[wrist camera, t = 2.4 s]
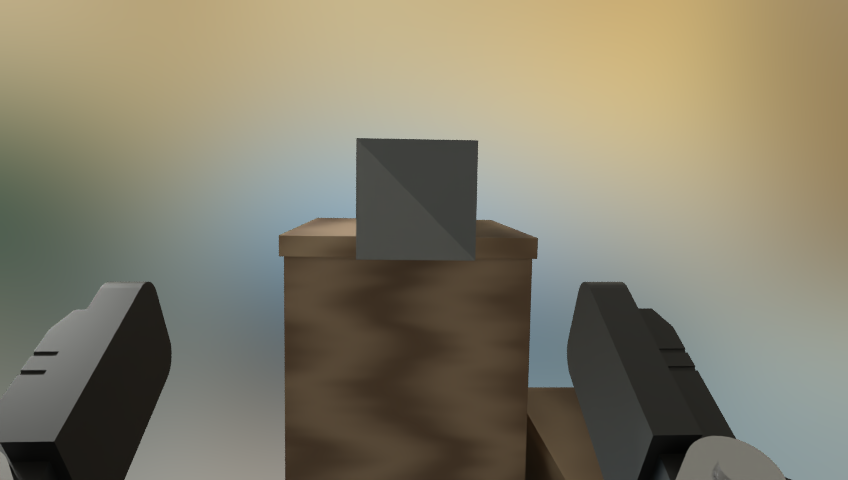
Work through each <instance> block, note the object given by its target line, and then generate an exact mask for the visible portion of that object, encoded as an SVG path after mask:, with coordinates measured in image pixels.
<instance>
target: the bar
mask: <svg viewBox="0 0 848 480" xmlns="http://www.w3.org/2000/svg"><path fill="white" fill-rule="evenodd" d="M356 155H357V157H356V260H462V261H475V250H476V207H477V164H478V163H477V162H478V141H473V140H472V141H471V140H420V139H368V138H357V152H356Z"/></svg>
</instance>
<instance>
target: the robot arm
mask: <svg viewBox="0 0 848 480" xmlns="http://www.w3.org/2000/svg"><path fill="white" fill-rule="evenodd" d="M567 359H568V368H569V373H570V376H571V379H572V382H573V386H574V389H575V392H576V395H577V398H578V401H579V404H580V407H581V410H582V413H583V417H584V420H585V423H586V426H587V429H588V432H589V435H590V438H591V441H592V444H593V448H594V451H595V454H596V457H597V460H598V463H599V466H600V469H601V472H602V475H603V479H604V480H791V479H788V478H785V477H784V475H783V474H782V472H781V471H780V469H779V468H778V467H777V465H776V464H775V463H774V462H773V461H772V460H771V459H770V458H769V457H767V456H766V455H765V454H764V453H762V452H761V451H759V450H758V449H756V448H755V447H753V446H751V445H749V444H747V443H745V442H742V441H740V440H737V439H736V438H735V436H734V435H733V433H732V431H731V429H730V428H729V426H728V424H727V422H726V420H725V418H724V417H723V415H722V413H721V411H720V410H719V408H718V406H717V404H716V402H715V401H714V399H713V397H712V395H711V394H710V392H709V390H708V388H707V386H706V385H705V383H704V381H703V379H702V378H701V376H700V374H699V372H698V371H695V365H694V363H693V362H692V360H691V358H690V356H689V355H688V353H685V347H684V346H683V344H682V342H681V340H680V339H679V337H678V335H677V333H676V331H675V330H674V328H673V327H672V326H671V325H670V324H669V323H668V322H667V321H666V320H664V319H663V318H662V317H661V316H660V315H659V314H657V313H656V312H655V311H654V310H653V309H638V307H637V305H636V303H635V302H634V299H633V298H632V295H631V293H630V292H629V290H628V288H627V286H626V285H625V284H624V283H623V282H583V283H582V284H581V286H580V288H579V292H578V297H577V301H576V306H575V311H574V315H573V321H572V325H571V329H570V334H569V339H568V345H567ZM170 366H171V343H170V339H169V336H168V332H167V328H166V325H165V321H164V317H163V314H162V310H161V306H160V303H159V299H158V296H157V292H156V289H155V287H154V285H153V284H152V283H151V282H106V283H104V284H103V286H102V287H101V288H100V289H99V291H98V293H97V294H96V296H95V297H94V299H93V300H92V302H91V303H90V305H89V306H88V308H87V309H86V310H74V311H73V312H71V313H70V314H69V315H67V316H66V317H65V318H63V319H62V320H61V321H59V322H58V323H57V324H55V325H54V326H53V327H52V328H50V329H49V331H48V332H47V333H46V335H45V336H44V338H43V339H42V340H41V342H40V343H39V345H38V346H37V348H36V349H35V350H34V356H30V358H29V359H28V360H27V362H26V363H25V365H24V366H23V367H22V369H21V374H20V375H17V376H16V377H15V379H14V380H13V382H12V383H11V385H10V386H9V388H8V389H7V390H6V392H5V393H4V395H3V396H2V398H1V399H0V480H124V479H125V477H126V474H127V472H128V470H129V467H130V465H131V462H132V460H133V458H134V455H135V453H136V451H137V448H138V446H139V444H140V441H141V439H142V436H143V434H144V432H145V429H146V427H147V425H148V422H149V420H150V418H151V415H152V413H153V410H154V408H155V406H156V403H157V401H158V399H159V396H160V394H161V391H162V389H163V387H164V384H165V382H166V379H167V377H168V374H169V371H170Z"/></svg>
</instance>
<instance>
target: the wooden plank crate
mask: <svg viewBox="0 0 848 480" xmlns="http://www.w3.org/2000/svg"><path fill="white" fill-rule="evenodd" d="M537 248H538V238H536V237H533V236H531V235H528V234H526V233H523V232H520V231H518V230H515V229H513V228H510V227H507V226H505V225H502V224H500V223H497V222H495V221H492V220H476V250H475V261H462V260H356V218H317V219H314V220H312V221H310V222H308V223H305V224H303V225H301V226H299V227H297V228H294V229H292V230H290V231H288V232H285V233H283V234H281V235H279V256H284V318H285V319H284V320H285V322H284V323H285V480H604V479H603V475H602V472H601V469H600V466H599V463H598V460H597V457H596V454H595V451H594V448H593V444H592V441H591V438H590V435H589V432H588V429H587V426H586V423H585V420H584V417H583V413H582V410H581V407H580V404H579V401H578V398H577V395H576V392H575V389H574V388H567V387H566V388H565V387H564V388H562V387H561V388H528V372H529V341H530V310H531V309H530V308H531V278H532V277H531V276H532V259H537Z"/></svg>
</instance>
